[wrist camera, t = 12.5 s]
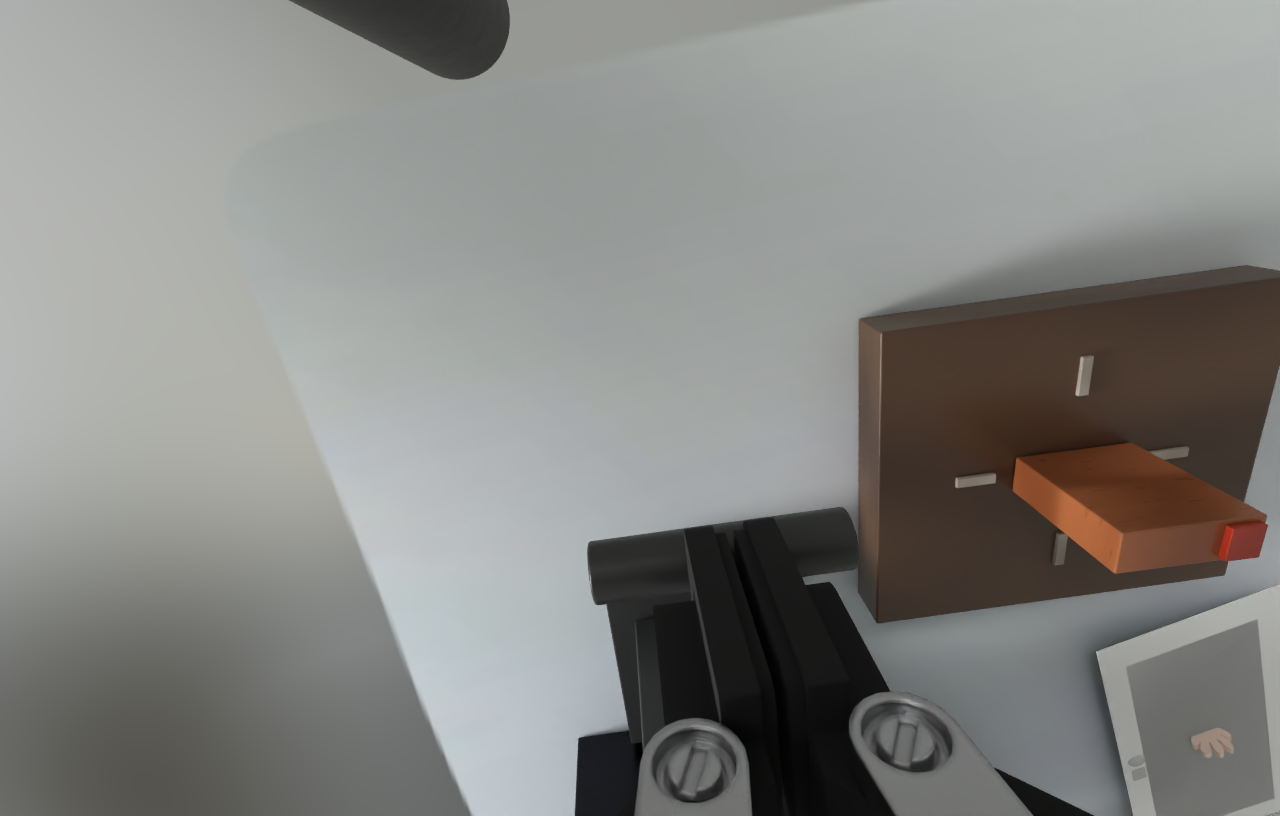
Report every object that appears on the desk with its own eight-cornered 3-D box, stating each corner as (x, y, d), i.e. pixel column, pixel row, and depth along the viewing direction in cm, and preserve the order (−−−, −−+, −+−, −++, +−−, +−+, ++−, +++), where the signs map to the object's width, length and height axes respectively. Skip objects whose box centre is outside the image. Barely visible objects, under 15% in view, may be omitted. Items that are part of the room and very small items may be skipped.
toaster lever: (587, 512, 13) (585, 589, 11) (827, 480, 13) (873, 550, 11) (662, 911, 19) (670, 1014, 16) (829, 887, 19) (860, 988, 16)
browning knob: (1011, 491, 23) (1120, 580, 18) (1015, 456, 23) (1128, 538, 18) (1125, 476, 23) (1264, 561, 18) (1131, 441, 23) (1277, 519, 18)
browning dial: (858, 318, 22) (882, 333, 20) (1246, 264, 22) (1309, 274, 20) (857, 592, 27) (878, 627, 25) (1182, 547, 27) (1229, 578, 25)
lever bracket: (601, 557, 26) (598, 902, 14) (772, 534, 26) (918, 858, 14) (630, 721, 29) (648, 1114, 17) (781, 700, 29) (905, 1079, 17)
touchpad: (1255, 568, 28) (1306, 601, 26) (1275, 785, 33) (1319, 825, 31) (1078, 634, 28) (1115, 670, 26) (1126, 834, 34) (1159, 877, 32)
